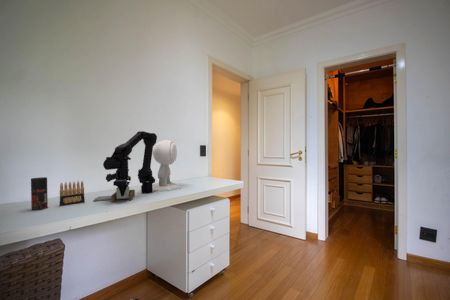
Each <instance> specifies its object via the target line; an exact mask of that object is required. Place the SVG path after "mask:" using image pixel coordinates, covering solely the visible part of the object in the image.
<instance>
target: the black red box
mask: <svg viewBox="0 0 450 300" xmlns="http://www.w3.org/2000/svg"><path fill="white" fill-rule="evenodd" d="M30 194H31V195H30V197H31V198H30V202H31V211H42V210H46V209H48V208H49V206H48V202H49V201H48V177H46V176H45V177H43V176H42V177H41V176H40V177H31V178H30Z"/></svg>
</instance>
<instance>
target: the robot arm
mask: <svg viewBox="0 0 450 300" xmlns="http://www.w3.org/2000/svg"><path fill="white" fill-rule="evenodd" d="M157 139H158V136H157V134H156V133H155V132H146V131H144V130H142V131H141V130H140V131H137V132H136V133H135V134H134V135H133V136H132V137H130V138H129V139H128V140H127V141H126V142H125V143H122V144H121V143H120V144H119V145H118V146H116V147H115V148H114V151H113V153H112V154H111V156H107V157H105V159H104V161H103V163H102V164H103V165H102V166H103V168H104V169H105V170H106V171H110V170H111V171H112V170H116V171H115V172H113V173H107V174H106V175H105V180H106V182H107V183H109V182H111V181H113V186H115V187H116V188H117V187H118V188H119V190H120V194H121V196H124V193H125V191H126V188H127V186H129V185H130V183H131V181H132V177H131V176H130V175H129V171H130V169H129V160H130V161H131V160H132V158H131V157H130V154H131V153H132V151H133V148H135V146H137V144H139V143H140V141H143V144H144V150H143V151H144V153H143V160H142V167H141V168H140V169H138V171H137V180H138V182H139V184H141V185H140V187H141V188H140V192H141V194H151V193H153V192H154V191H153V184H154V183H155V184H156V178H155V177H154V176H153V171H152V169H151V166H152V165H151V164H152V160H153V159H152V158H153V149H154V147H155V145H156V144H157Z"/></svg>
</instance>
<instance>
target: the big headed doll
mask: <svg viewBox="0 0 450 300" xmlns="http://www.w3.org/2000/svg"><path fill="white" fill-rule="evenodd" d="M177 152H178V150H177V145H176V144H175V143H174V141H172V140H169V139H163V140H160V141H158V142H156V143H155V145H154V146H153V151H152V157H153V159H154V160H155V161H156V162H157V163H158V164H159V165H160V166H159V169H158V170H157V178H158V183H155V184H154V183H152V185H153V192H155V191H156V192H157V191H158V192H159V191H160V192H161V191H163V192H164V191H165V192H167V191H169V192H170V191H172V190H177V189H178V190H179V189H181V186H180V185H179V184H178V183H175V182H172V181H171V169H170V166H169V165H173V164H174V162H175V161H176V160H177V155H178V153H177Z"/></svg>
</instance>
